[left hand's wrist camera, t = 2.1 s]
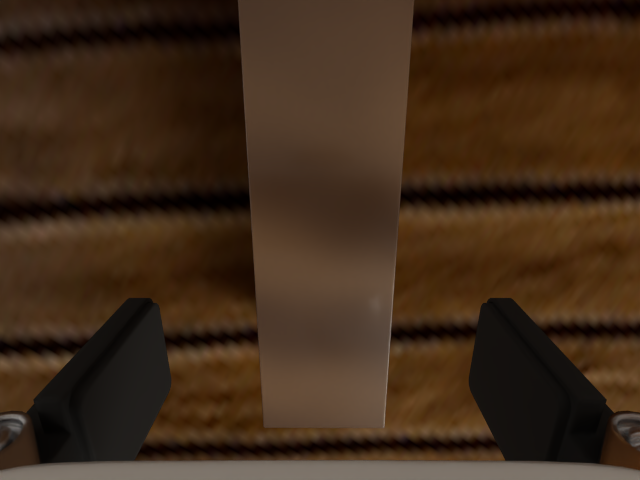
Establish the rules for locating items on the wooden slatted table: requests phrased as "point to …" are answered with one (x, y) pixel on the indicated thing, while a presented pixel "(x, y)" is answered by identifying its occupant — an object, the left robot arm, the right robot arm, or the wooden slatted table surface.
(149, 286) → the wooden slatted table surface
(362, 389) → the beam
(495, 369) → the left robot arm
